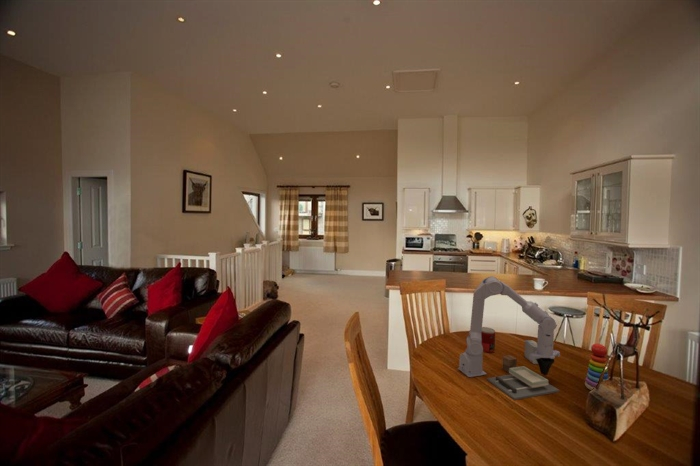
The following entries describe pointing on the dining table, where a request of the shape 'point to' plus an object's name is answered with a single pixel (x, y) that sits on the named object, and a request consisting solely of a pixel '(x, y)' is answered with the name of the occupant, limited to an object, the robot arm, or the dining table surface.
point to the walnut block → (509, 362)
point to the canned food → (488, 339)
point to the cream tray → (528, 376)
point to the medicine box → (530, 349)
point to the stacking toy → (596, 366)
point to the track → (519, 387)
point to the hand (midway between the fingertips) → (543, 374)
